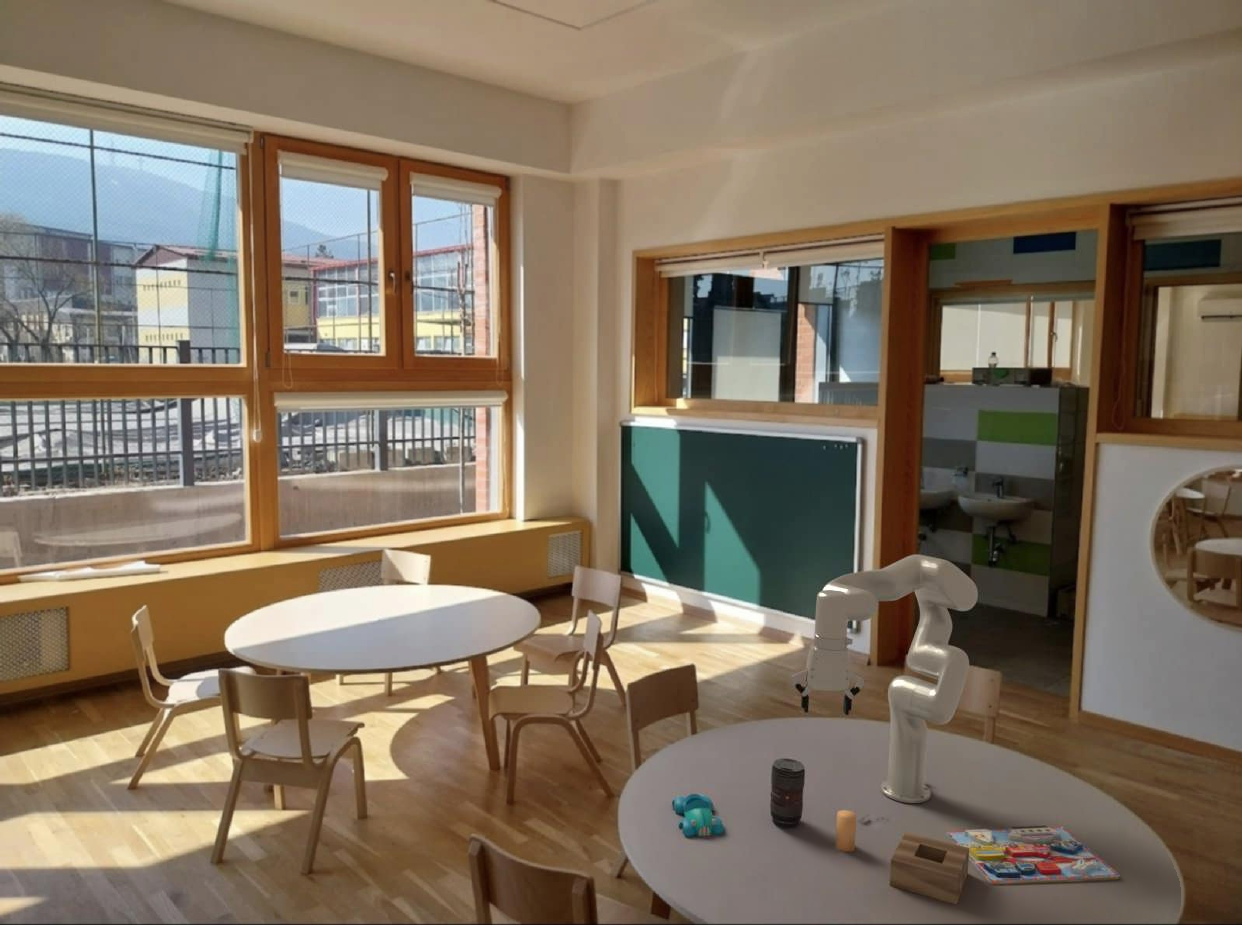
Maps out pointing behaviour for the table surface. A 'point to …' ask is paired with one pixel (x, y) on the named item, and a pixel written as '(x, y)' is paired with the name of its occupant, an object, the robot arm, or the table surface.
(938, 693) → the robot arm
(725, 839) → the table surface
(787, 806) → the camera lens
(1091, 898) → the table surface
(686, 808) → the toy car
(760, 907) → the table surface
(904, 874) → the socket block
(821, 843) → the table surface
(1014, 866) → the puzzle board
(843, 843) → the peg
